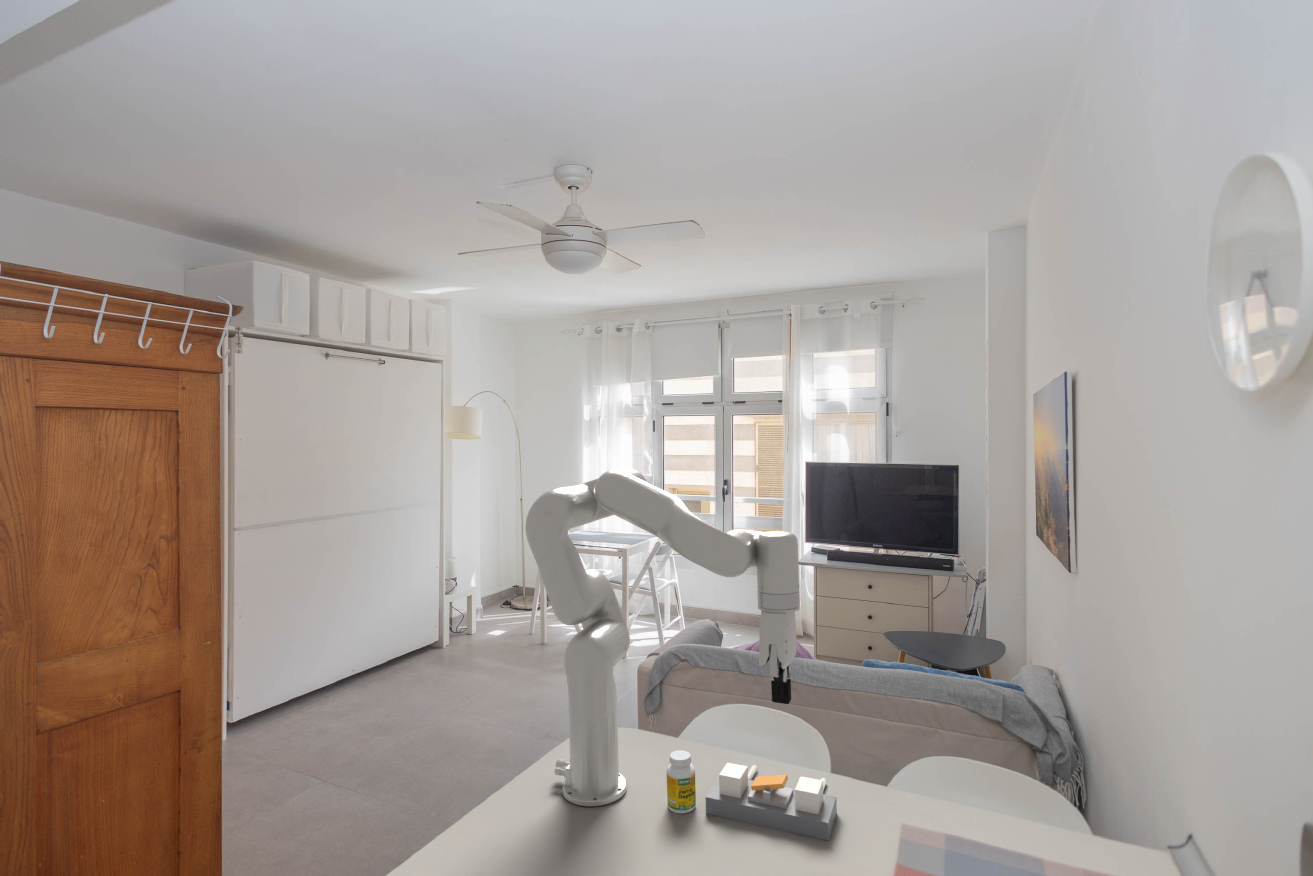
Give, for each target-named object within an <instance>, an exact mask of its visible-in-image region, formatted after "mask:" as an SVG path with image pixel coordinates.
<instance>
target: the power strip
mask: <svg viewBox="0 0 1313 876" xmlns="http://www.w3.org/2000/svg"><path fill="white" fill-rule="evenodd" d="M748 770H749V771H748ZM757 771H758V766H757V765H756V764H753V765H751V767H750V769H749V768H748V765H742V764H737V763H732V762H727V763H726V764H725V765H724V767H723V768H722V770H721V771H720V773H719V774H718V778H717V780H716V781H715V782H714V784H713V785H712V787H710V788H711V789H709V791H708V793H707V794H706V795H705V814H708V815H710V814H711V816H715V815H716V816H715V817H720V818H723V819H730V820H733V821H739V822H742V823H745V824H746V823H747V824H752V825H756V826H760V827H765V828H769V829H773V830H778V831H783V832H787V833H792V834H795V835H801V836H805V837H810V838H814V839H819V840H823V841H827V842H829V840H830V838H831V834H832V830H833V827H834V825H835V820H836V819H837V818H836V817H837V814H838V809H837V805H838V804H837V796H835V795H830V794H825V793H824V790H825V787H826V785H827V778H826V777H821V778H820V779H817V778H811V777H807V776H800V777H799V779H798V780H797V784H796V785H795V788H793V787H789V786H784V788H781V789H771V791H766V790H754V791H752V788H751V785H752V784H753V782H754V780H755V779H753V777H754V776H755V775H756V772H757Z"/></svg>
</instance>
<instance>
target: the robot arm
mask: <svg viewBox="0 0 1313 876" xmlns="http://www.w3.org/2000/svg"><path fill="white" fill-rule="evenodd" d="M527 512H528V513H527V514H526V519H525V526H524V527H525V536H526V540H527V543H528V545H529V548H530V551H531V553H532V555H533V558H534V561H535V562H536V565H537V569H538V570H539V571H538V572H539V575H540V577H541V580H542V584H543V586H544V589H545V591H546V594H547V597H548V600H549V603H550V605H551V609H552V611H553V614H554V615H555V617H556V619H557V620H558V621H559V622H560V623H562V624H563V625H565V626H577V625H580V624H581V627H582V630H580V631H578V632H577V633H576V634H575V635H574V636H573V637H572V638H571V639H570V640H569V642H568V644H567V645H566V647H565V651H564V655H563V665H564V671H565V676H566V677H565V678H566V683H567V693H568V713H569V714H568V715H569V716H568V719H569V720H568V721H569V725H568V726H569V729H568V730H569V731H568V732H569V760H566V759H563V758H558V759H557V760H556V761H555V768H554V775H557V776H560V777H561V776H563V777H564V778H565V780H564V781H563V784H562V789H561V791H562V795H563V797H564V798H565V800H566V801H568V802H569V803H571V804H574V805H577V806H581V807H602V806H605V805H609V804H612V803H613V802H616V801H618V800H620V799H621V798H622V797H623V796H624V795H625V793H626V792H627V788H628V786H627V785H628V782H627V779H626V778H625V776H624V775H623V774H622V773H620V771H619V723H618V722H619V720H618V713H619V712H618V694H617V687H616V681H615V679H614V667H615V666H616V665H617V664H618V663H619V662H620V661H621V660H622V659H623V658H624V657H625V655H626V654H627V653H628V650H629V648H630V644H631V641H630V638H631V637H630V632H629V628H628V625H627V622H626V620H625V617H624V613H623V612H622V608H621V607H620V604H619V600H618V598H617V595H616V593H615V590H614V588H613V586H612V583H611V582H610V580H609V579H608V578H607V577H606V576H605V575H604V574H603V573H602V572H601V571H599V570H596V569H593V568H585V567H584V565H583V562H582V560H581V556H580V553H579V551H578V549H577V547H576V545H575V544H574V542H573V541H572V539H571V538H570V535H569V531H570V529H573V528H576V527H580V526H584V525H586V524H590V523H593V522H595V521H599V520H602V519H605V518H608V517H612V516H616V517H618V518H619V519H621V520H624V521H626V522H628V523H630V524H632V525H633V526H636V527H637V528H639V529H641V530H643V531H645V532H647V533H650V534H651V535H653V536H655V537H657V538H658V539H659V540H661V541H662V542H663V543H664V544H665V545H667V546H668V547H669V548H671V549H672V550H673V551H674V552H676V553H677V554H678V555H680V556H682V557H683V558H685V559H686V560H687V561H690V562H692V563H694V564H695V565H697V566H700V567H701V568H702V569H704V570H707V571H709V572H712V573H713V574H716V575H718V576H720V577H725V578H735V577H739V576H741V575H743V574H744V573H745V572H746V571H747V570H748V569H750V568H756V581H757V582H756V584H757V587H756V588H757V591H756V592H757V608H758V610H759V611H761V612H760V619H759V620H760V621H759V637H758V638H759V641H758V642H759V645H758V646H759V647H758V650H759V652H758V654H759V655H758V660H759V662H758V664H759V666H760V667H761V668H764V667H765V666H766V665H767V664H768V663H769V677H770V681H771V683H770V685H771V688H770V689H771V701H772V703H775V704H776V703H778V704H783V705H789V704H790V703H791V701H792V683H791V681H792V679H791V663H792V662H793V660H794V658H795V656H797V642H798V641H797V640H798V639H797V623H796V622H797V621H796V618H797V617H796V612H798V611H800V608H801V606H800V605H801V601H800V600H801V599H800V596H801V595H800V570H799V543H798V538H797V536H796V534H795V533H793V532H790V531H784V530H783V531H782V530H776V531H775V530H770V531H764V532H763V531H756V530H749V529H743V528H735V529H730V530H728V531H726V532H725V531H723V530H721V529H719V528H717V527H715V526H713V525H711V524H709V523H708V522H706V521H703V520H702V519H700V518H699V517H697V516H696V515H695V514H693V513H692V512H691V511H690V510H689V509H688V508H687V506H686V505H685V503H684V501H683V500H682V499H681V498H680V497H678V496H676V495H674V494H672V493H670V492H668V491H666V490H664V489H662V488H660V487H658V486H656V485H653V484H652V483H650V482H648V481H647V479H646V477H645V475H643V474H642V473H641V472H640V471H639V470H636V469H634V468H630V467H627V468H626V467H622V468H616V469H615V468H613V469H610V470H608V471H605V472H604V473H602V474H600V476H599V477H598V478H596V479H593V480H589V481H587V482H583V483H580V484H576V485H569V486H561V487H556V488H551V489H550V490H548V491H546V492H544V493H542V494H541V495H540V496H539V497H537V499H536V500H535V501H534V502H533V503H532V505H531V506H530V508H529V510H528V511H527Z"/></svg>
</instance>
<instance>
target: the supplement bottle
mask: <svg viewBox="0 0 1313 876" xmlns="http://www.w3.org/2000/svg"><path fill="white" fill-rule="evenodd" d="M669 763H670V764H669V765H667V768H666V793H667V800H666V801H667V808H668V809H669V810H670V811H671V812H673V813H676V814H688V813H690V812H693V811H694V810H695V808H696V804H697V803H696V801H697V798H696V794H697V791H696V769H695V766H694V764H692V755H691V752H688V751H686V750H674V751H672V752H671V753H670V754H669Z"/></svg>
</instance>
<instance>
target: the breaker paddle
mask: <svg viewBox="0 0 1313 876" xmlns="http://www.w3.org/2000/svg"><path fill="white" fill-rule="evenodd" d="M788 779H789V777H788V774H787V773H786V774H774V775H762V776H761V775H760V776H756V777H755V778H754V779H753V780H754V782H753V784H752V785H751V788H752V791H754V790H766V791H771V789H781V788H784V787H786V784H787V782H788Z"/></svg>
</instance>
